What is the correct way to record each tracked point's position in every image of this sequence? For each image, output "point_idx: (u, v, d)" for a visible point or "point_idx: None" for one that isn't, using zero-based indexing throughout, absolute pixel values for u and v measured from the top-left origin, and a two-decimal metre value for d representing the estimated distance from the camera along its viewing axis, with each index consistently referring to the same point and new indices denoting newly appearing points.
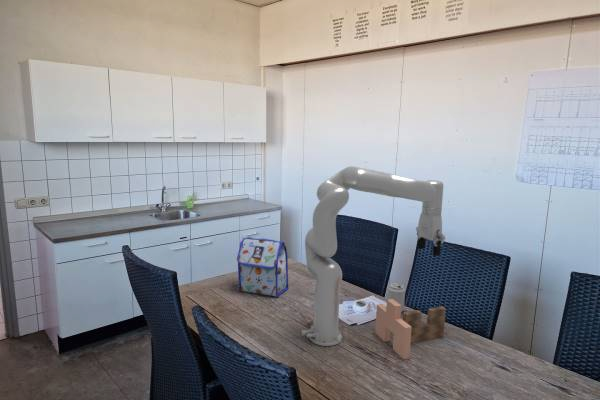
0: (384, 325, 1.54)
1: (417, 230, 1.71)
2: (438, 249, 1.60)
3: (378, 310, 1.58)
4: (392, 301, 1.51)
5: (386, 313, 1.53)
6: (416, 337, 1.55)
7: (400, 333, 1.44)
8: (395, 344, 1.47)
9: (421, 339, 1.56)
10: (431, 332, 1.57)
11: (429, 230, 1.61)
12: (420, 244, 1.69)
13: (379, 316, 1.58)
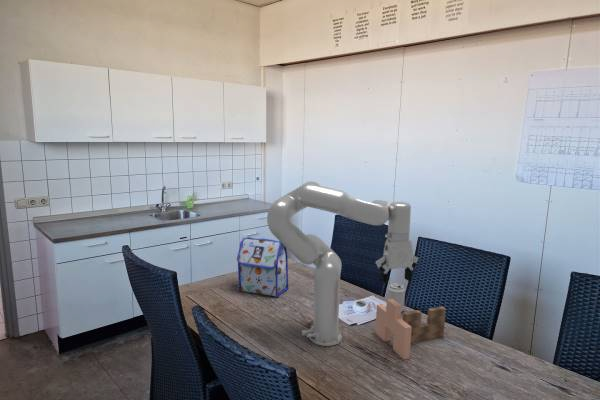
0: (384, 325, 1.54)
1: (380, 264, 1.44)
2: None
3: (378, 310, 1.58)
4: (392, 301, 1.51)
5: (386, 313, 1.53)
6: (416, 337, 1.55)
7: (400, 333, 1.44)
8: (395, 344, 1.47)
9: (421, 339, 1.56)
10: (431, 332, 1.57)
11: (409, 256, 1.45)
12: None
13: (379, 316, 1.58)
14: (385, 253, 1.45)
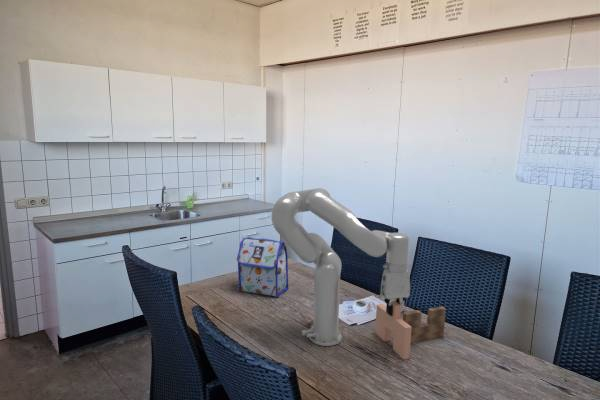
0: (384, 325, 1.54)
1: (383, 298, 1.47)
2: None
3: (378, 310, 1.58)
4: (392, 301, 1.51)
5: (386, 313, 1.53)
6: (416, 337, 1.55)
7: (400, 333, 1.44)
8: (395, 344, 1.47)
9: (421, 339, 1.56)
10: (431, 332, 1.57)
11: (406, 287, 1.47)
12: None
13: (379, 316, 1.58)
14: (383, 283, 1.47)
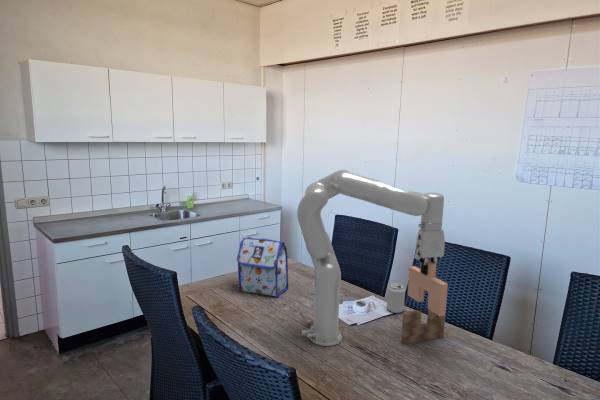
0: (418, 286, 1.57)
1: (418, 257, 1.49)
2: None
3: (411, 272, 1.60)
4: None
5: (420, 273, 1.55)
6: (416, 337, 1.55)
7: (436, 290, 1.46)
8: (430, 303, 1.49)
9: (421, 339, 1.56)
10: (431, 332, 1.57)
11: (441, 246, 1.49)
12: None
13: (412, 277, 1.60)
14: (418, 242, 1.49)
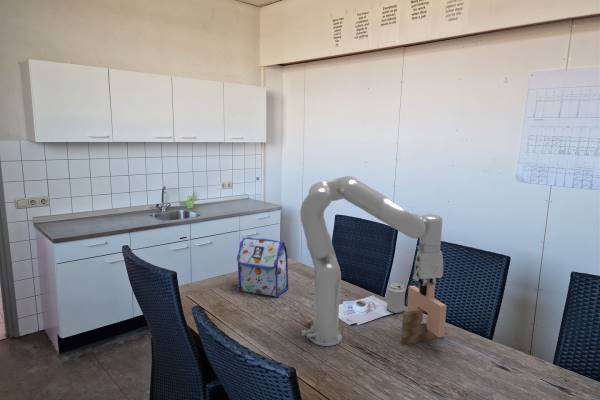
0: (417, 305, 1.58)
1: (417, 279, 1.51)
2: None
3: (410, 291, 1.62)
4: None
5: (419, 294, 1.56)
6: (416, 337, 1.55)
7: (434, 312, 1.48)
8: (429, 323, 1.51)
9: (421, 339, 1.56)
10: (431, 332, 1.57)
11: (439, 267, 1.51)
12: None
13: (411, 297, 1.61)
14: (417, 264, 1.50)
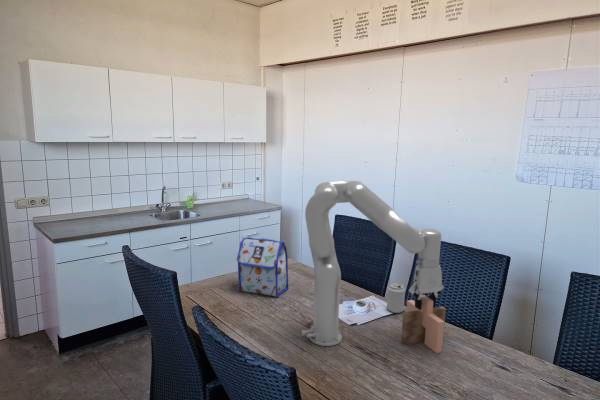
0: None
1: (413, 292, 1.51)
2: None
3: (409, 306, 1.63)
4: (424, 297, 1.55)
5: (417, 308, 1.57)
6: (416, 337, 1.55)
7: (432, 327, 1.49)
8: (427, 339, 1.52)
9: (421, 339, 1.56)
10: None
11: (438, 281, 1.51)
12: None
13: None
14: (415, 278, 1.51)
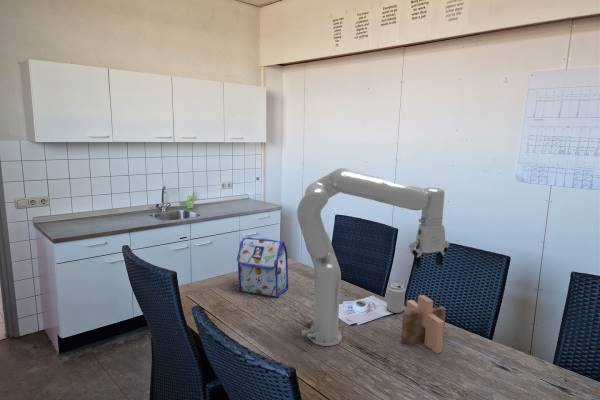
0: None
1: (413, 248, 1.48)
2: None
3: (408, 306, 1.63)
4: (423, 297, 1.55)
5: (417, 308, 1.57)
6: (416, 337, 1.55)
7: (432, 327, 1.49)
8: (427, 339, 1.52)
9: (421, 339, 1.56)
10: None
11: (441, 241, 1.49)
12: None
13: None
14: (418, 237, 1.49)
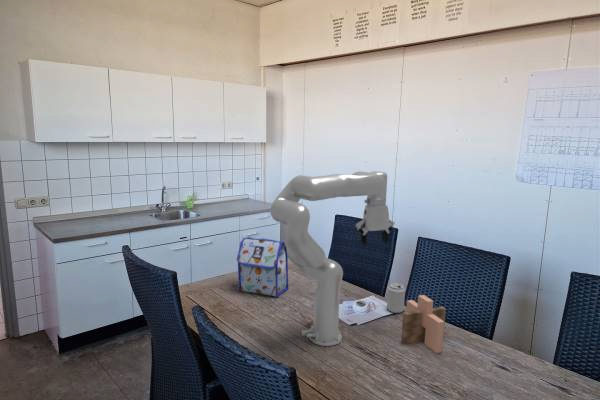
0: None
1: (359, 227, 1.62)
2: None
3: (408, 306, 1.63)
4: (423, 297, 1.55)
5: (417, 308, 1.57)
6: (416, 337, 1.55)
7: (432, 327, 1.49)
8: (427, 339, 1.52)
9: (421, 339, 1.56)
10: None
11: (385, 220, 1.63)
12: None
13: None
14: (364, 217, 1.63)
